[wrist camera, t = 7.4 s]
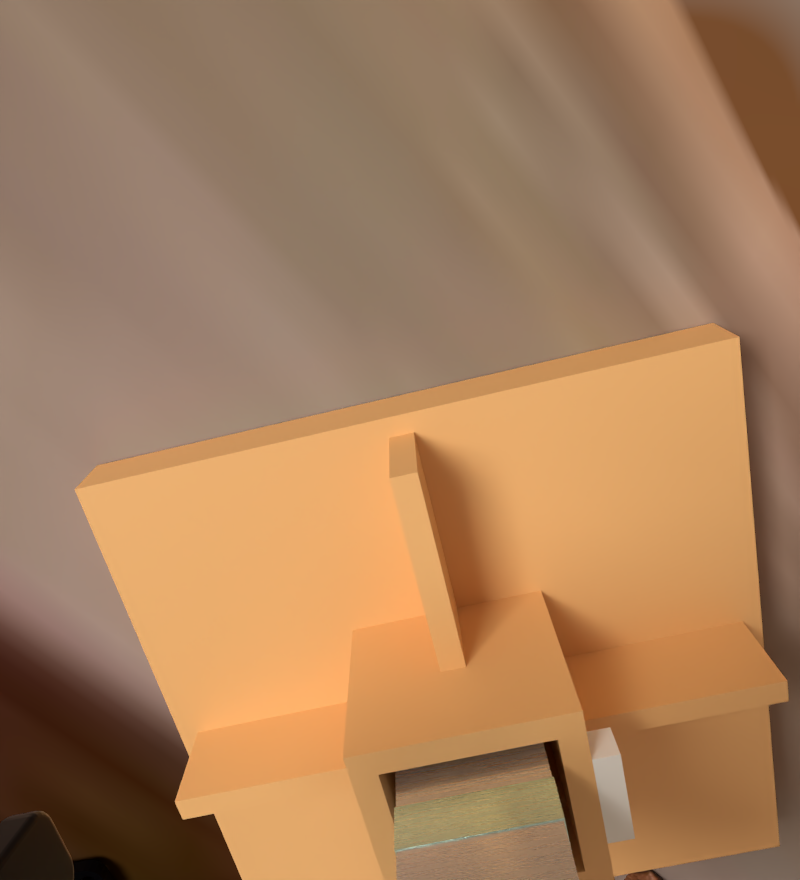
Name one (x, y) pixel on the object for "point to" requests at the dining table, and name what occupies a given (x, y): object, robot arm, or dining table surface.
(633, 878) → the sunglasses case
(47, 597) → the dining table surface
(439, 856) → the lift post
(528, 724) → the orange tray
